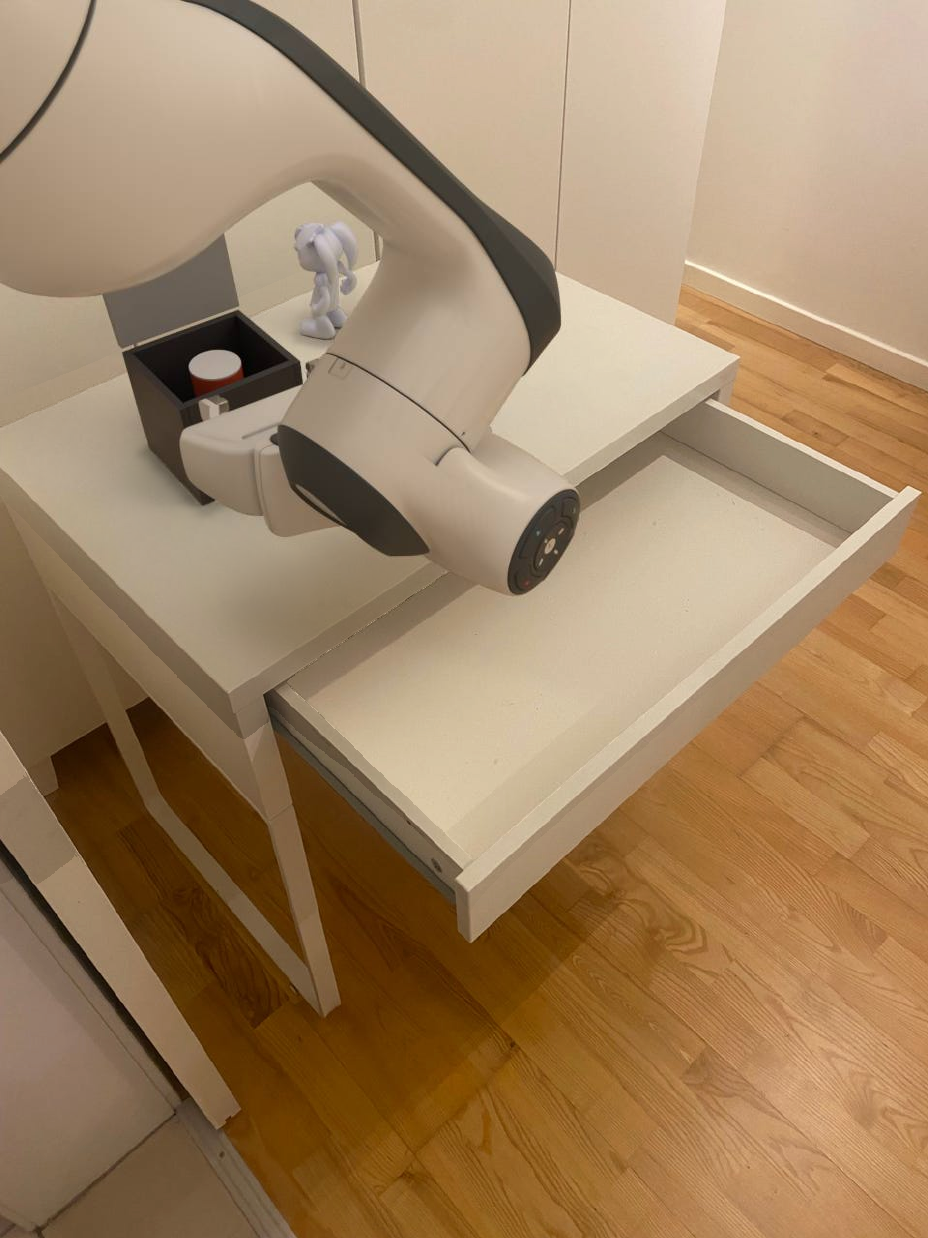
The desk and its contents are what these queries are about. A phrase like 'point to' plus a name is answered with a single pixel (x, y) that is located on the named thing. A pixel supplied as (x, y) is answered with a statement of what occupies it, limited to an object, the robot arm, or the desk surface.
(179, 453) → the black box
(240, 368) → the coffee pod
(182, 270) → the box lid
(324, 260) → the toy figurine
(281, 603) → the desk surface
